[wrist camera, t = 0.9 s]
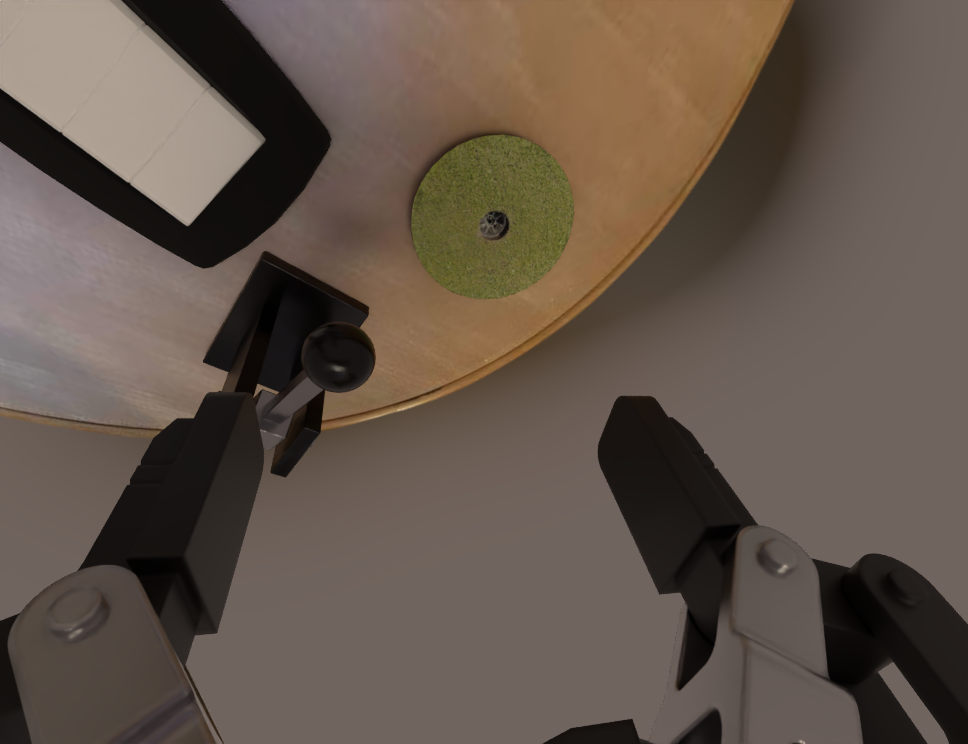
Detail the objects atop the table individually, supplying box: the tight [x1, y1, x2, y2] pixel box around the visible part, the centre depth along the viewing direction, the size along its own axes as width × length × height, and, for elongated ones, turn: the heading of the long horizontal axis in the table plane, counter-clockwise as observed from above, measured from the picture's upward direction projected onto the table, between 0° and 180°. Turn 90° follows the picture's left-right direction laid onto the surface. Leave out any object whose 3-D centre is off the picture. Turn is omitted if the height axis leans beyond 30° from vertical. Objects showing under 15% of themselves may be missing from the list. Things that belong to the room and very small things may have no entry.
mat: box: [411, 135, 574, 299], centre depth 32 cm, size 11×11×2 cm
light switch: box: [0, 0, 331, 268], centre depth 23 cm, size 20×3×14 cm
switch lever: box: [254, 322, 376, 450], centre depth 24 cm, size 13×3×3 cm, turn 140°
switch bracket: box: [203, 252, 369, 477], centre depth 31 cm, size 10×8×12 cm
